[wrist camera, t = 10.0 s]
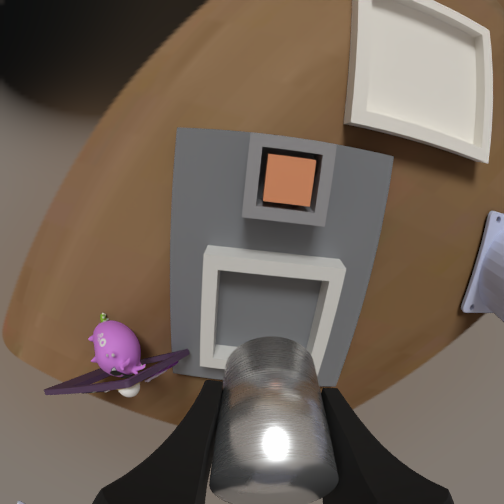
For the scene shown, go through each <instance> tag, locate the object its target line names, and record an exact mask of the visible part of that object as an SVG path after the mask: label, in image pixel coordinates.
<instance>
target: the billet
mask: <svg viewBox="0 0 504 504" xmlns="http://www.w3.org/2000/svg"><path fill="white" fill-rule="evenodd" d="M338 480H339V478H338V473H337V468H336V463H335V457H334V453H333V448H332V443H331V438H330V433H329V428H328V424H327V419H326V414H325V410H324V405H323V401H322V396H321V392H320V387H319V383H318V378H317V374H316V370H315V365H314V361H313V358H312V356H311V354H310V353H309V352H308V350H307V349H306V348H305V347H303V346H302V345H301V344H299V343H297V342H295V341H293V340H290V339H287V338H282V337H260V338H256V339H253V340H250V341H247V342H245V343H243V344H242V345H240V346H239V347H237V348H236V349H235V350H234V351H233V352H232V353H231V354H230V356H229V357H228V359H227V362H226V365H225V372H224V379H223V387H222V396H221V403H220V410H219V415H218V422H217V430H216V437H215V445H214V452H213V460H212V468H211V475H210V484H209V486H210V489H211V491H212V492H213V493H214V494H215V495H216V496H217V497H218V498H220V499H222V500H224V501H226V502H228V503H230V504H308V503H311V502H314V501H316V500H318V499H321V498H322V497H324V496H326V495H327V494H329V493H330V492H331V491H332V490H333V489H334V488H335V487H336V486H337V484H338Z"/></svg>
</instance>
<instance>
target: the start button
mask: <svg viewBox="0 0 504 504" xmlns="http://www.w3.org/2000/svg"><path fill="white" fill-rule="evenodd" d="M315 166H316V160H313V159H308V158H301V157H294V156H287V155H279V154H271V153H267V160H266V168H265V177H264V186H263V195H262V196H263V201H267V202H276V203H284V204H293V205H301V206H308V207H310V202H311V195H312V188H313V181H314V174H315Z"/></svg>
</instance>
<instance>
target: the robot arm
mask: <svg viewBox="0 0 504 504" xmlns="http://www.w3.org/2000/svg"><path fill="white" fill-rule="evenodd" d="M497 217H498V219H497ZM496 220H497V221H496ZM470 306H471V307H470ZM461 310H462V311H463V312H465V313H495V314H496V315H497V316H498V317H499V318H500V319H501V320H502V321H503V322H504V214H502V213H499V212H496V211H490V212H489V214H488V217H487V221H486V226H485V230H484V234H483V238H482V242H481V246H480V249H479V253H478V256H477V260H476V263H475V266H474V270H473V273H472V276H471V279H470V282H469V285H468V288H467V291H466V294H465V296H464V299H463V302H462V305H461ZM222 387H223V382H221V381H212V380H207V381H205V382H204V385H203V387H202V389H201V391H200V393H199V395H198V397H197V399H196V400H195V402H194V404H193V405H192V407H191V408H190V410H189V411H188V413H187V414H186V416H185V417H184V419H183V420H182V421H181V423H180V424H179V425H178V426H177V428H176V429H175V430H174V431H173V433H172V434H171V435H170V436H169V437H168V438H167V439H166V440H165V441H164V442H163V444H162V445H161V446H160V447H159V448H158V449H156V450H155V451H154V452H153V453H152V454H151V455H150V456H149V457H148V458H147V459H145V460H144V461H143V462H142V463H140V464H139V465H138V466H137V467H135V468H134V469H132V470H131V471H130V472H128V473H127V474H126V475H124V476H122V477H121V478H119V479H118V480H116V481H114V482H112V483H111V484H109V485H107V486H106V487H104V488H102V489H101V490H100V492H99V493H98V495H97V496H96V498H95V500H94V501H93V503H92V504H205V496H206V488H207V482H208V477H209V472H210V468H211V464H212V460H213V452H214V445H215V437H216V430H217V422H218V415H219V410H220V403H221V396H222ZM321 396H322V401H323V405H324V410H325V414H326V419H327V424H328V428H329V433H330V438H331V443H332V448H333V453H334V457H335V463H336V468H337V473H338V478H339V480H338V484H337V486H336V487H335V488H334V489H333V490H332V491H331V492H330V493H329V494H327V495H326V496H324V497H323V504H454V502H453V500H452V497H451V494H450V492H449V490H448V489H446V488H444V487H442V486H440V485H438V484H436V483H434V482H432V481H430V480H428V479H426V478H424V477H423V476H421V475H419V474H418V473H416V472H415V471H413V470H412V469H410V468H409V467H407V466H406V465H405V464H403V463H402V462H401V461H399V460H398V459H397V458H396V457H395V456H393V455H392V454H391V453H390V452H389V451H388V450H387V449H386V448H384V447H383V446H382V445H381V444H380V442H379V441H378V440H377V439H376V438H375V437H374V436H373V435H372V434H371V433H370V431H369V430H368V429H367V428H366V427H365V425H364V424H363V423H362V422H361V420H360V419H359V418H358V417H357V415H356V414H355V413H354V411H353V410H352V408H351V407H350V406H349V404H348V403H347V401H346V400H345V398H344V397H343V396H342V394H341V393H340V391H339V390H338V389H337V388H323V390H322V393H321ZM17 504H25V503H23V502H22V501H18V502H17Z"/></svg>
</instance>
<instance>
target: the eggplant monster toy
mask: <svg viewBox="0 0 504 504" xmlns="http://www.w3.org/2000/svg"><path fill="white" fill-rule="evenodd" d="M100 318H101V319H100V320H101V323H100V324H99V325H97V327H96V328H95V330H94V333H93V336H91V337H89V338H88V340H89V341H92V342H94V348H95V357H94V358H93V359H92V360H91V362H96V363H98V365H99V366H100V369H97V370H95V371H92V372H89V373H87V374H84V375H82V376H79V377H76V378H74V379H71V380H69V381H66V382H63V383H61V384H58V385H55V386H52V387H50V388H47V389H45V390H44V392H45V394H46V395H57V394H71V393H94V392H108V391H110V390H118V391H119V392H120V393H121V394H122V395H123V396H125V397H133V396H135V395H137V394H138V392H139V390H140V382H141V381H143V380H145V379H146V378H148V377H151V376H153V377H151V378H149V379H147V380H145V382H149V381H151V380H152V379H154V378H155V377H157V376H159V375H161V374H162V373H164V372H166V371H167V369H169V368H171V367H173V366H174V365H176V364H177V363H178V361H179V360H180V359H182V358H184V357H186V356H187V355H189V354H190V352H189V350H188V349H184V350H180V351H176V352H171V353H167V354H163V355H158V356H154V357H150V358H145V359H140V356H141V349H140V344H139V341H138V339H137V337H136V335H135V334H134V333H133V331H132V330H131V329H130V328H128V327H127V326H126V325H124V324H122V323H120V322H117V321H107V320H108V319H109V318H108V319H106V314H104V313H103V312H102V314H101V315H100ZM162 360H163V361H162ZM157 361H161V362H159V363H157V364H155V365H153V366H151V367H149V368H147V369H146V370H144V371H142V372H140V373H138V372H137V371H138V370H142V369H144V368H145V365H146V364H148V363H153V362H157ZM143 364H144V365H143ZM133 373H134V374H135V375H134V376H133V375H131V374H133ZM110 375H112V376H116V377H121V378H127V379H125V380H119V381H112V382H104V383H97V384H92V383H94V382H97V381H99V380H101V379H104V378H106V377H108V376H110ZM129 377H130V378H129Z"/></svg>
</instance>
